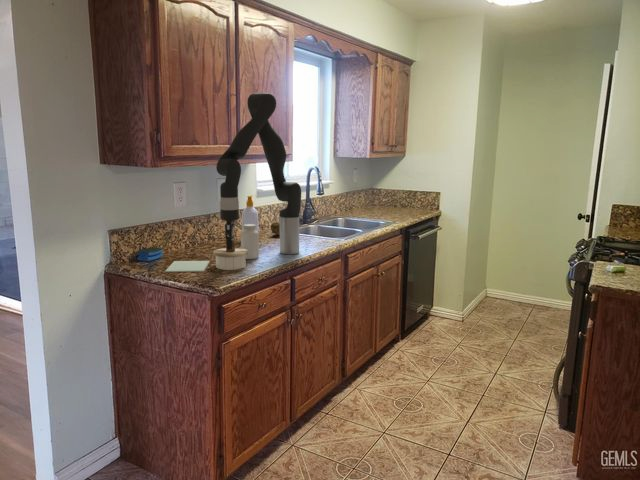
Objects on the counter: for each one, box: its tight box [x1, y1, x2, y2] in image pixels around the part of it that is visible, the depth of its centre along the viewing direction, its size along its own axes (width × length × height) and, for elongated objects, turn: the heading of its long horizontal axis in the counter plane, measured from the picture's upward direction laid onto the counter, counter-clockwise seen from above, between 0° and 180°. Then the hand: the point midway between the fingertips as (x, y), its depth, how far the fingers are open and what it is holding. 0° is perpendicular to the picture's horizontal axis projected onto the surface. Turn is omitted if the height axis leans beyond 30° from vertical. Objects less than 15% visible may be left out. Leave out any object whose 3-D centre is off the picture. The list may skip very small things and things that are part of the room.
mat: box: [164, 260, 210, 273], centre depth 202 cm, size 17×15×1 cm
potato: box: [270, 222, 280, 237], centre depth 274 cm, size 8×13×8 cm, turn 147°
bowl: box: [215, 255, 247, 271], centre depth 203 cm, size 12×12×6 cm
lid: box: [212, 238, 248, 257], centre depth 202 cm, size 14×14×6 cm
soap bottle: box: [241, 194, 259, 233], centre depth 257 cm, size 9×9×24 cm
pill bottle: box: [240, 224, 260, 260], centre depth 218 cm, size 8×8×15 cm
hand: (230, 247), depth 202 cm, fingers open, 7 cm apart
